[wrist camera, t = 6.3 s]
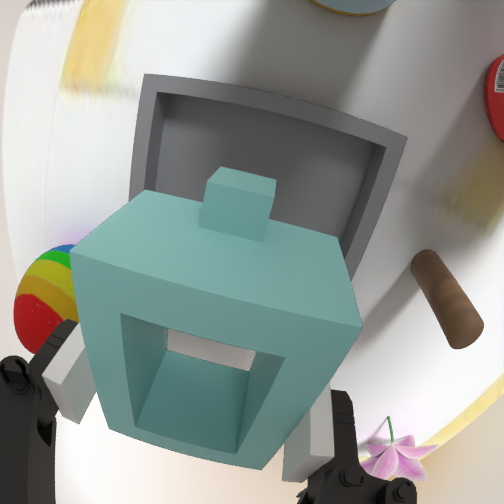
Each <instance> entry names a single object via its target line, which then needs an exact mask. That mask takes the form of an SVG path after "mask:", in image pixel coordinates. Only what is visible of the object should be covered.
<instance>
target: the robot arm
mask: <svg viewBox="0 0 504 504" xmlns="http://www.w3.org/2000/svg"><path fill="white" fill-rule="evenodd" d="M96 391H97V389H96V385H95V382H94V378H93V375H92V371H91V367H90V363H89V359H88V355H87V351H86V347H85V345H84V340H83V336H82V331H81V326H80V322H79V323H78V322H76V321H73V320H71V319H66V320H65V321H63V322H62V323H60V324H58V325H57V326H56V328H55V329H54V330H53V332H52V333H51V335H49V337H48V338H47V339H46V341H45V343H43V345H42V346H41V347H40V349H39V350H38V351H37V353H36V354H35V355H34V357H33V358H32V360H31V361H30V362H29V364H28V363H27V361H25V360H24V359H23V358H22V357H19V356H8V357H6V358H4V359H3V360H2V361H1V362H0V504H56V501H55V441H56V424H57V423H56V417H55V415H56V413H57V411H58V410H59V411H60V413H61V414H62V416H63V417H65V418H67V419H69V420H71V421H73V422H75V423H77V424H80V422H81V420H82V418H83V416H84V414H85V412H86V410H87V408H88V406H89V404H90V402H91V400H92V398H93V397H94V395H95V393H96ZM353 415H354V412H353V404H352V401H351V399H350V397H349V396H348V394H347V392H346V391H338V390H331V389H330V381H329V383H328V384H327V385H326V387H325V388H324V390H323V391H322V393H321V394H320V396H319V397H318V398H317V400H316V401H315V403H314V404H313V406H312V407H310V408H309V410H308V411H307V413H306V414H305V415H304V417H303V418H302V419H301V421H300V422H299V423H298V425H297V426H296V427H295V429H294V430H293V431H292V433H291V434H290V435H289V436H288V438H287V439H286V440H285V445H284V460H283V474H282V481H288V482H299V483H302V482H304V481H305V480H306V479H308V487H307V488H306V489H304V490H303V491H301V492H300V493H299V494H298V495H297V496H296V497H297V498H299V497H300V499H299V501H298V503H297V504H417V492H416V487H415V485H414V484H413V482H412V481H410V480H409V479H408V478H404V477H399V478H395V479H394V480H392V481H388V480H384V479H381V478H377V477H374V476H372V475H370V474H368V473H367V472H366V471H365V470H364V469H363V467H362V466H361V465H360V463H359V459H358V451H357V440H356V430H355V426H354V424H355V421H354V417H353Z"/></svg>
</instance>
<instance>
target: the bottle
mask: <svg viewBox="0 0 504 504" xmlns="http://www.w3.org/2000/svg"><path fill="white" fill-rule="evenodd" d="M311 1H312V2H313V3H315V4H316V5H318V6H320V7H322V8H325V9H327V10H330V11H332V12H335V13H339V14H345V15H351V16H360V15H370V14H374V13H376V12H379V11H381V10H384V9H385V8H387V7H388V6H390V5H391V4H392V3H393V2H395V1H396V0H311Z"/></svg>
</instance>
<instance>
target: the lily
mask: <svg viewBox="0 0 504 504" xmlns="http://www.w3.org/2000/svg"><path fill="white" fill-rule="evenodd" d="M387 418H388V423H389V428H390V434H391V445H390V446H386V445H380V444H374V443H368V444H367V448H368V451H369V453H370V455H371V456H372V457H370V458H368V459H367V460H365V461H362V462H360V465H361V466H362V467H363V469H364V470H365V471H366V472H367V473H368V474H371V475H372V476H374V477H377V478H381V479H384V480H386V479H388V478H389V477H390V476H391V475H394V476H396V477H398V478H399V477H404V478H408V479H409V480H410V481H425V480H427V479H428V475H427V473H426V471H425V470H424V468H423V466H422V465H421V463H420V461H419V460H418V459H417V458H421V457H423V456H425V455H427V454H429V453H430V452H432V451H433V450H435V449H436V448H437V447H438V446H439V445H431V446H420V447H415V439H414V436H413V435H409V436H407V437H405V438H404V439H402V440H401V441H400V442H398V443H397V444H394V439H393V432H392V426H391V421H390V417H387Z"/></svg>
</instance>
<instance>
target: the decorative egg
mask: <svg viewBox="0 0 504 504" xmlns="http://www.w3.org/2000/svg"><path fill="white" fill-rule="evenodd" d="M74 246H75V245H71V244H70V245H62V246H58V247H55V248H53V249H51V250H49V251H47V252H45V253H44V254H42V255H41V256H40V257H39V258H37V259H36V260H35V261H34V262H33V263H32V265H31V266H30V267H29V269H28V270H27V271H26V273H25V274H24V276H23V278H22V280H21V282H20V284H19V287H18V290H17V293H16V297H15V302H14V325H15V330H16V333H17V336H18V338H19V340H20V341H21V343H22V344H23V346H24V347H25V348H26V349H27V350H28V351H30V352H31V353H33V354H36V353H37V351H38V350H39V349H40V347H41V346H42V345H43V343H45V341H46V339H47V338H48V337H49V335H51V333H52V332H53V330H54V329H55V328H56V326H57V325H58V324H60V323H62V322H63V321H65V320H66V319H71V320H73V321H76V322H78V323H79V322H80V321H79V316H78V310H77V305H76V299H75V292H74V286H73V278H72V271H71V262H70V253H69V251H70V250H71V249H72V248H73V247H74Z"/></svg>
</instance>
